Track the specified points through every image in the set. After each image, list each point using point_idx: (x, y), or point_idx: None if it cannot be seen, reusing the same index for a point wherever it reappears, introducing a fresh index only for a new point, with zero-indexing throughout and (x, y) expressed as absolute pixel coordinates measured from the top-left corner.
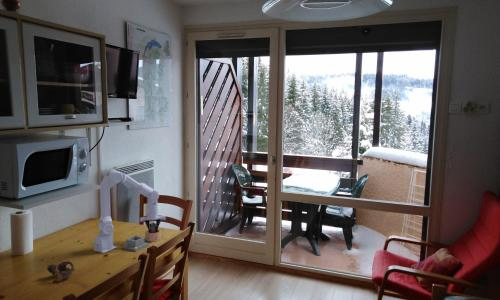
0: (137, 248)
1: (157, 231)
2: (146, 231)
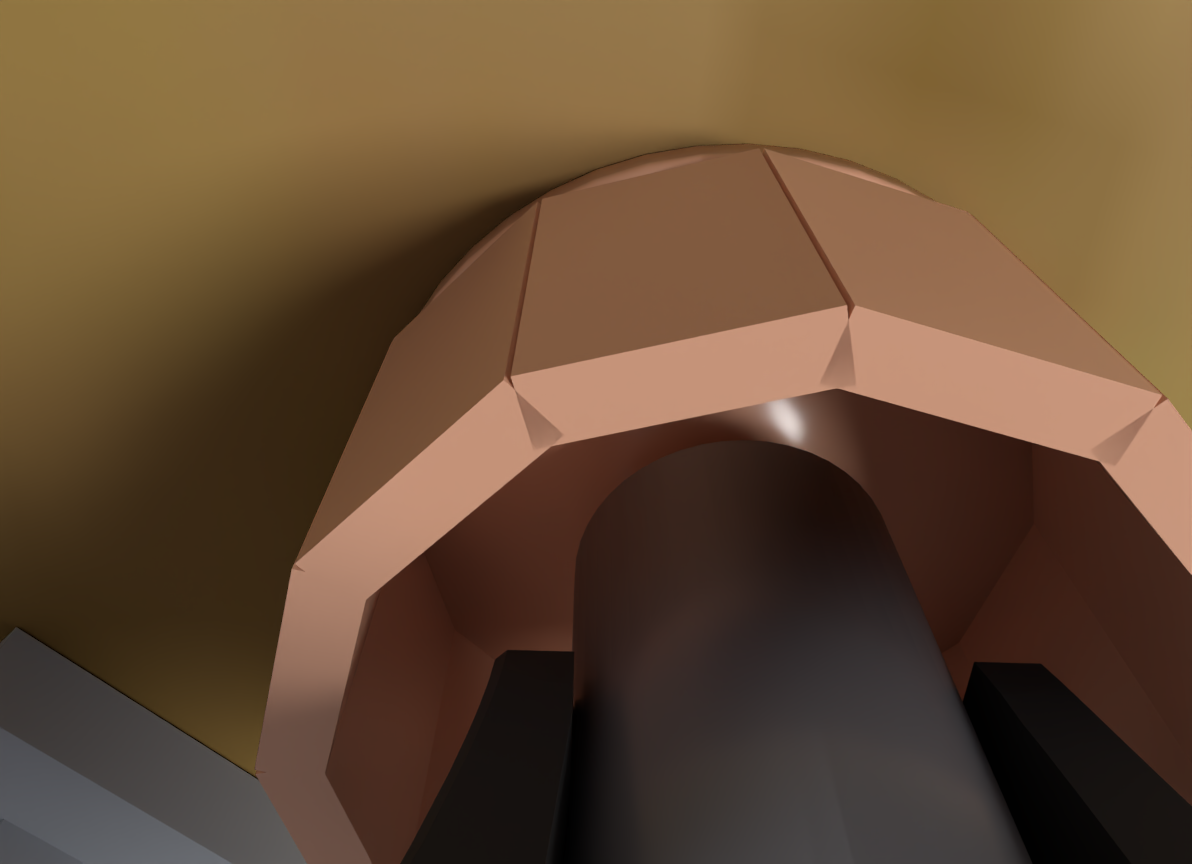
0: None
1: (1098, 462)
2: (345, 686)
